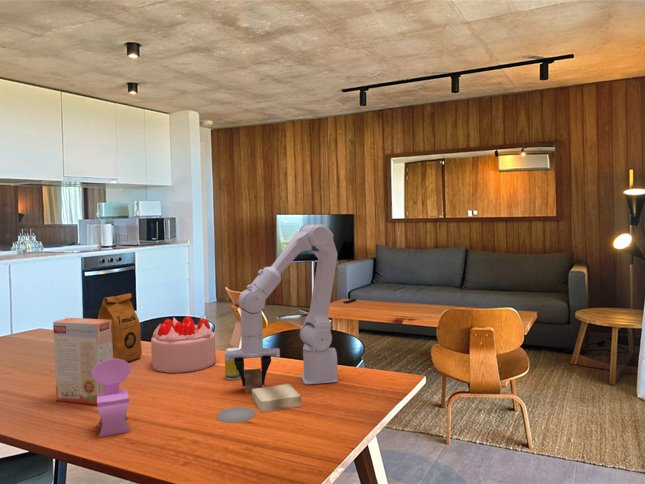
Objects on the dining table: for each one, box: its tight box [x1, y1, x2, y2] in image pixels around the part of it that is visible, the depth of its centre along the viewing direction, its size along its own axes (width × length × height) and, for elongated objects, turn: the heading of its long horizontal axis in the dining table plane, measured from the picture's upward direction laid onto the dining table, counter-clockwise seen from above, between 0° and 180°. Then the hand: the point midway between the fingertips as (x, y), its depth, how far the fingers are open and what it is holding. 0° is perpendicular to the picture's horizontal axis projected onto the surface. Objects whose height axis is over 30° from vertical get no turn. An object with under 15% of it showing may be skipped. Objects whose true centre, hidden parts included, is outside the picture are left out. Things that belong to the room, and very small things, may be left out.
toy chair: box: [91, 359, 132, 438], centre depth 115 cm, size 8×9×15 cm
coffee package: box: [97, 292, 143, 363], centre depth 169 cm, size 10×12×22 cm
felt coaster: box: [216, 406, 256, 424], centre depth 121 cm, size 9×9×1 cm
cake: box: [150, 315, 217, 374], centre depth 164 cm, size 20×20×14 cm
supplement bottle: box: [224, 347, 241, 381], centre depth 150 cm, size 5×5×8 cm
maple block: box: [251, 383, 302, 413], centre depth 129 cm, size 10×10×3 cm
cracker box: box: [52, 317, 113, 406], centre depth 133 cm, size 14×6×21 cm, turn 71°
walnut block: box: [244, 368, 263, 394], centre depth 139 cm, size 4×4×5 cm
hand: (253, 384), depth 139 cm, fingers closed on walnut block, 4 cm apart
